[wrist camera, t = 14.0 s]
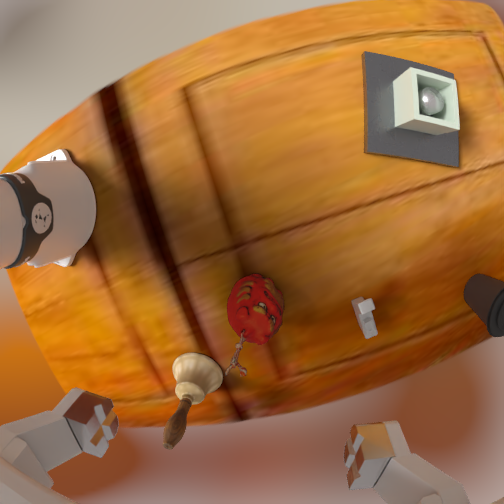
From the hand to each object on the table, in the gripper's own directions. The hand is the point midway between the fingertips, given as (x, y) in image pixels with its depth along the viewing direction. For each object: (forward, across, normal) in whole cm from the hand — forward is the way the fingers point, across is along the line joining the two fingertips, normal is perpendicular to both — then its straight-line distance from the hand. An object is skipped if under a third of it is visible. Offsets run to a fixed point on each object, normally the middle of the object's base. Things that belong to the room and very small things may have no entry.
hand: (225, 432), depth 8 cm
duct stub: (+31, -19, -19) cm, 41 cm away
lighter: (+31, -13, +8) cm, 35 cm away
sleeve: (+30, -19, -19) cm, 40 cm away
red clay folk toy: (+31, +1, +8) cm, 32 cm away
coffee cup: (+31, -34, +6) cm, 47 cm away
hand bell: (+31, +10, +22) cm, 40 cm away
